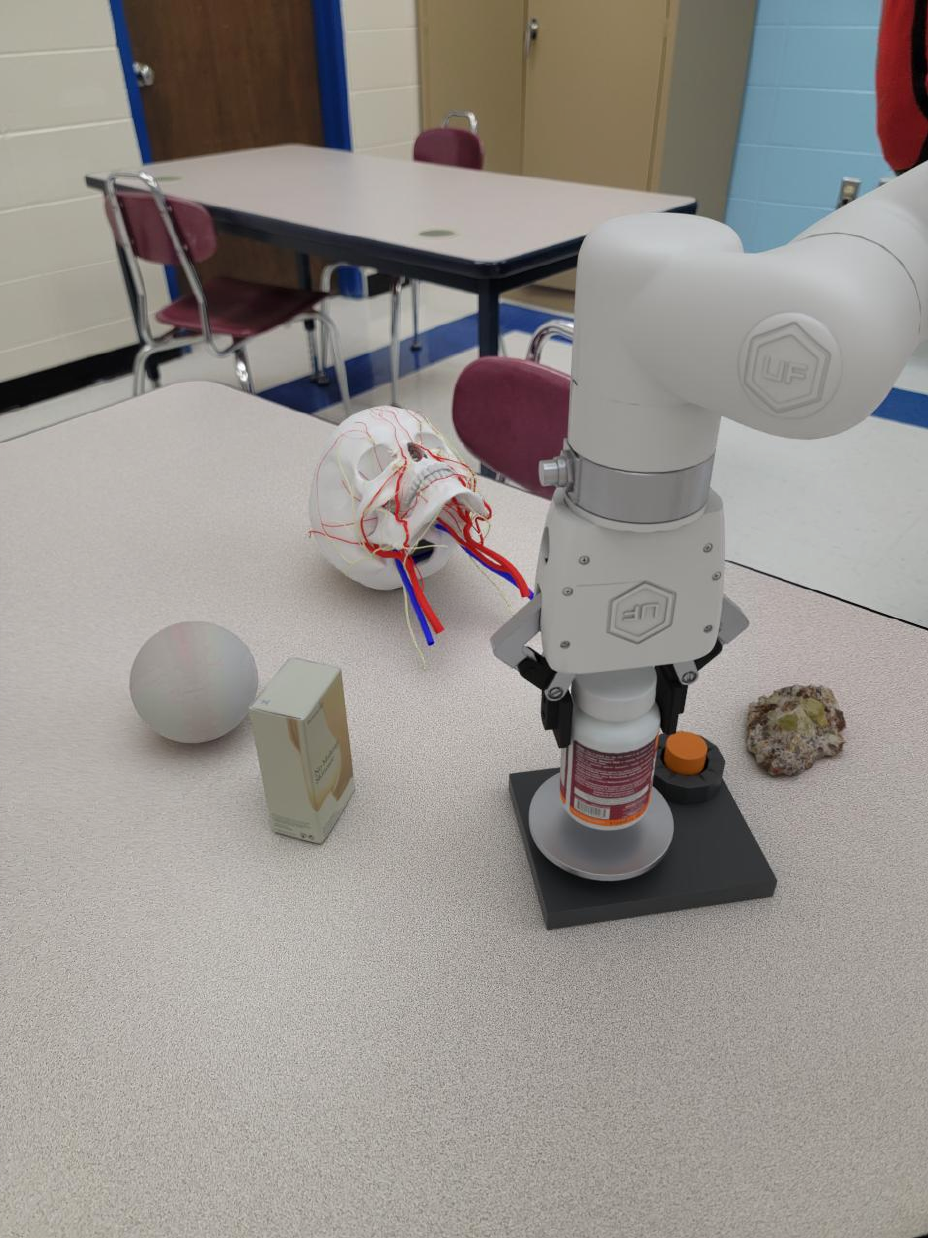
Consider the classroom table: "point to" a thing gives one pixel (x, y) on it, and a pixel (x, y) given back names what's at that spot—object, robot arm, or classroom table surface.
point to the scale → (687, 875)
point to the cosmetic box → (303, 748)
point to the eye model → (193, 681)
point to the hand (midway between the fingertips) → (610, 724)
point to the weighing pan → (599, 838)
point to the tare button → (685, 753)
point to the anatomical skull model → (398, 507)
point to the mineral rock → (795, 728)
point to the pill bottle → (611, 748)
